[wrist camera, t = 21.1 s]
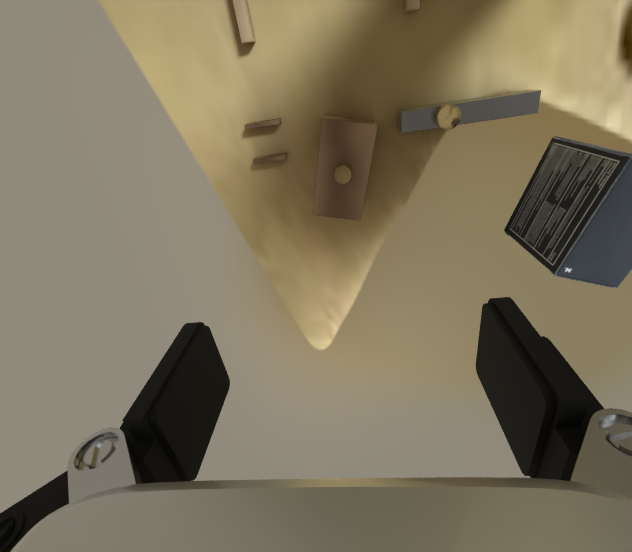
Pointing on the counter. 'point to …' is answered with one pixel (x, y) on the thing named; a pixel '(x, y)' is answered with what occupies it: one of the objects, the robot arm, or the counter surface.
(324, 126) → the cap block
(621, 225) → the small box
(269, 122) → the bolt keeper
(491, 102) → the bar
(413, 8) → the bolt guide rails
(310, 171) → the counter surface
